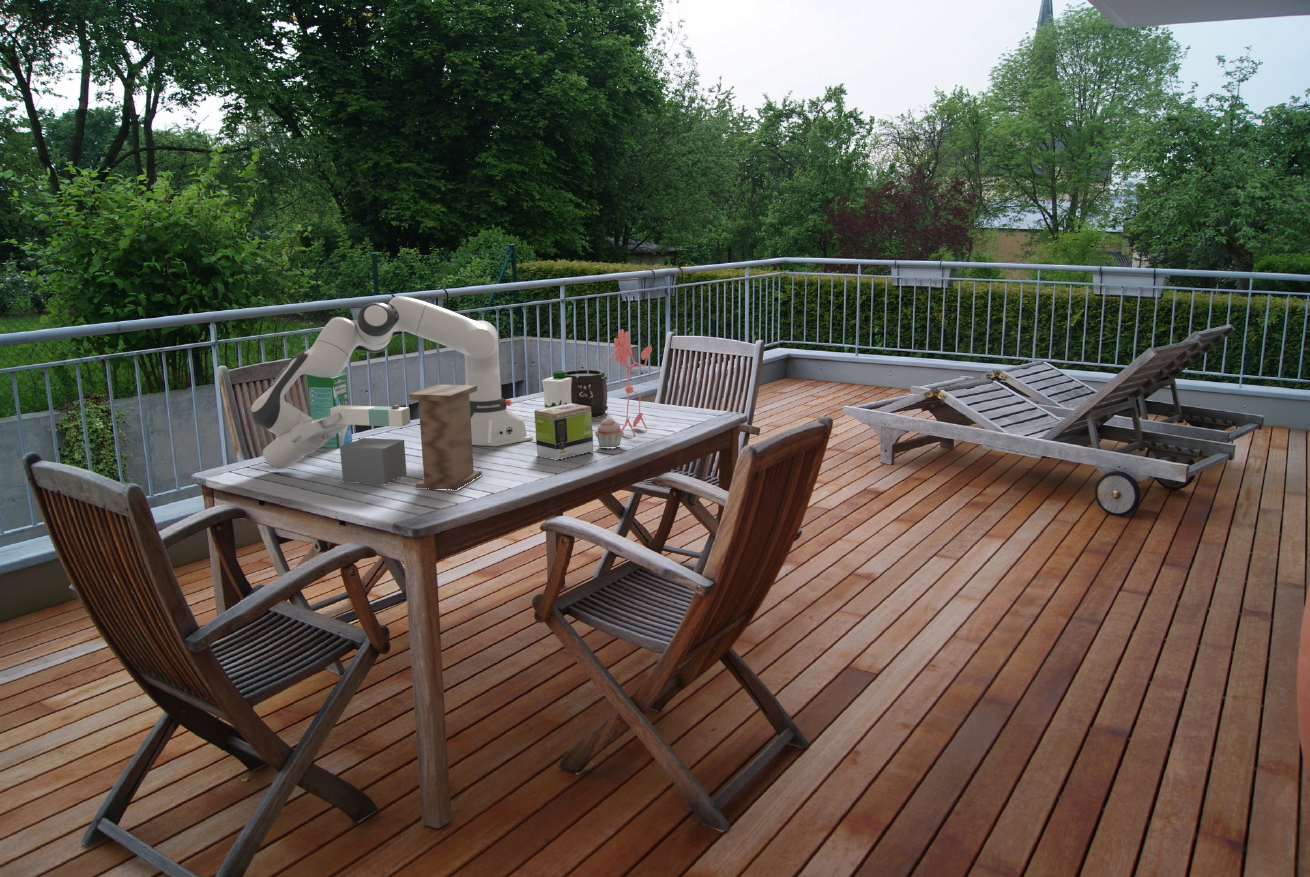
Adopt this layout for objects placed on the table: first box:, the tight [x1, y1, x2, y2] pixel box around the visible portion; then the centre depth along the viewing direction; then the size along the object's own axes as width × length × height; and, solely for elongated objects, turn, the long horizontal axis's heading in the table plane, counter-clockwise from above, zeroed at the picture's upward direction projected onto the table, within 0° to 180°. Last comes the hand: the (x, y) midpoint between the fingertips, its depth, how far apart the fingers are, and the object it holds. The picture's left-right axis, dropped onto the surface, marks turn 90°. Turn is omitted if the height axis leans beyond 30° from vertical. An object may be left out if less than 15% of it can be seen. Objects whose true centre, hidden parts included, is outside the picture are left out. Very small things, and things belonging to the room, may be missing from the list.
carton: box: [330, 404, 411, 428], centre depth 264 cm, size 22×5×5 cm, turn 75°
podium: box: [339, 437, 407, 485], centre depth 267 cm, size 13×12×10 cm
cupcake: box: [594, 415, 625, 448], centre depth 300 cm, size 9×9×10 cm
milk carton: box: [305, 372, 353, 449], centre depth 308 cm, size 9×9×25 cm
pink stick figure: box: [603, 328, 656, 435], centre depth 320 cm, size 15×26×35 cm, turn 154°
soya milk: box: [541, 370, 572, 409], centre depth 325 cm, size 9×9×20 cm
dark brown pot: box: [564, 369, 609, 418], centre depth 353 cm, size 18×18×16 cm
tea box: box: [534, 403, 595, 461], centre depth 291 cm, size 15×10×15 cm
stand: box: [408, 383, 483, 490], centre depth 259 cm, size 12×16×26 cm
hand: (345, 413), depth 266 cm, fingers closed on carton, 4 cm apart
